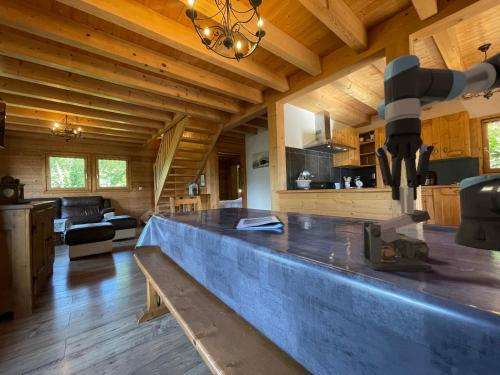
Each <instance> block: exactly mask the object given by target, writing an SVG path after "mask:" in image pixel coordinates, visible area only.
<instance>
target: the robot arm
mask: <svg viewBox="0 0 500 375" xmlns="http://www.w3.org/2000/svg"><path fill="white" fill-rule="evenodd" d="M383 89H384V90H383V92H384V93H383V94H384V98H383V99H381V101H379V103H378V105H377V107H376V111H377V115H378V116H379V117H380V119H382V120H384V121H385V123H386V124H385V125H384V127H385V128H384V130H385V131H384V133H385V134H384V135H385V136H384V137H385V141H384V143H383V145H382V146H381V147H379V148H375V149H374V151H373V152H374V154H375V156H376V157H377V159H378V164H379V168H380V170H379V171H380V173H381V175H380V176H381V179H382V183H383V185H384V186H387V187H389V188H391V199H392V200H393V201H395V213H396V214H400V215H405V213H408V214H414V210H415V206H414V204H415V203H414V202H415V201H417V199H418V188H419V187H420V186H424V185H425V184H426V183H427V178H428V171H429V166H430V161H431V160H430V159H431V154H433V151H434V149H435V146H434V145H428V144H425V143H424V141H423V139H422V138H421V137H422V136H421V134H422V119H420V117H421V116H422V110H423V109H424V108H428V107H432V106H433V105H437V104H440V103H443V102H450V101H452V100H455V99H457V98H459V97H462V96H465V95H468V94H476V95H477V94H481V93H483V92H487V91H491V90H495V89H500V51H499V52H497V53H496V54H493V55H492V56H490V57H488V58H486V59H484V60H483V61H481V62H477V63H475V64H473V65H471V66H470V67H467V69H466V70H462V71H461V70H456V69H451V68H431V67H430V68H427V67H421V62H420V58H419V56H417V55H416V54H406V55H402V56H398V57H396V58H395V59H393V60H391V61H390V62H388V63H387V65H386V66H385V68H384V72H383ZM417 152H419V156H418V159H417ZM387 153H389V154H390V161H391V167H390V164H389V159H388V155H387ZM416 159H417V160H418V161H417V162H416ZM403 162H404V167H405V176H406V186H407V187H401V186H402V184H401V183H402V165H403ZM458 193H459V206H460V209H459V211H460V212H459V213H460V222H459V224H458V226H457V228H456V233H455V235H454V242H455V243H456V244H458V245H462V246H464V247H465V246H466V247H470V248H471V247H472V248H475V249H482V250H483V249H484V250H490V249H494V250H493V251H500V173H499V174H498V173H497V174H488V175H487V174H486V175H479V176H478V175H477V176H473V177H472V176H471V177H467V178H464V179H462V180H461V181H460V182H459V191H458Z"/></svg>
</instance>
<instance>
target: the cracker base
mask: <svg viewBox="0 0 500 375" xmlns="http://www.w3.org/2000/svg"><path fill="white" fill-rule="evenodd" d="M366 227H369V235H368V233H367V231H366ZM362 243H363V244H362V245H363V246H362V247H363V262H364V263H365V264H366V265H367V266H368V267H369V268H370V269H371V270H373V271H393V272H394V271H395V272H396V271H399V272H400V271H401V272H402V271H403V272H404V271H405V272H428V273H429V272H430V273H431V272H432V271H433V268H432V267H433V266H432V264H429V263H428V262H426V261H424V260H422V259H418V258H415V257H399V256H396V255H395V251H394V250H393V248H391V247H389V246H382V245H381V225H379V224H378V223H375V224H374V222H373V221H362Z"/></svg>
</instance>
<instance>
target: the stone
mask: <svg viewBox="0 0 500 375" xmlns="http://www.w3.org/2000/svg"><path fill="white" fill-rule="evenodd" d="M397 234H398V237H399V239H398V240H394V241H391V242H388V243H387V242H385V241H383V240H382V239H381V245H382V246H389V247H391V248H393V250H394V251H395V257H415V258H418V259H420V260H422V259H424V258H428V257H429V254H430V253H429V252H430V248H429V246H428V245H427V242H426V241H423V240H422V239H419V238H417V237H412V236H408V235H406V234H405V233H401V232H397Z"/></svg>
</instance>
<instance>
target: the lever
mask: <svg viewBox="0 0 500 375" xmlns="http://www.w3.org/2000/svg"><path fill="white" fill-rule="evenodd" d="M430 220H431V216H430V214H429V211H428V210H422V209H414V214H408V213H405V214H401V215H400V216H399V215H398V216H395V217H394V218H390V219H387V220H384V221H381V222H379V223H377V224H379V225H381V239H382V240H383V241H385V242H387V243H388V242H391V241H394V240H398V239H399V237H398V234H397V233H398V232H397V229H400V228H402V227H403V228H404V227H406V226H410V225H412V224H414V223H415V224H419V223H423V222H426V221H430ZM366 231H367V233H368V235H369V227H366Z"/></svg>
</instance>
